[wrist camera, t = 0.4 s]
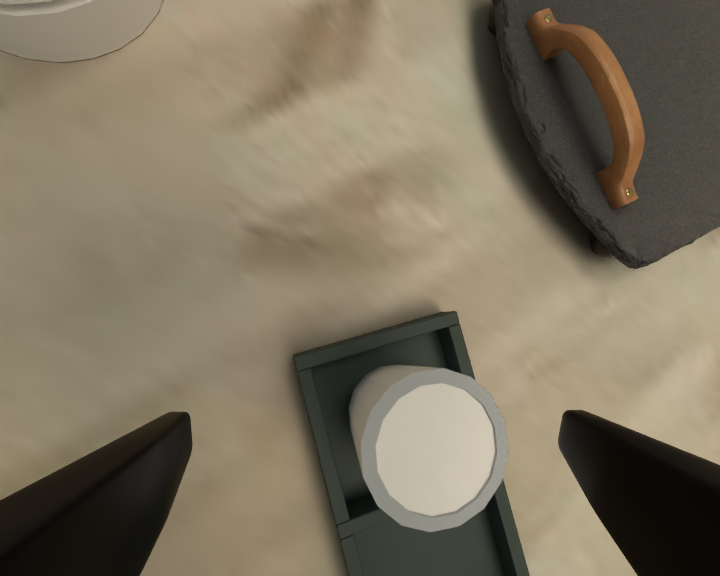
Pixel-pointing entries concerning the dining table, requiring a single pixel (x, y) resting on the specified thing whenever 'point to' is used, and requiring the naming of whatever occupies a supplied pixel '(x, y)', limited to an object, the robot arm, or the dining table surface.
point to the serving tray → (621, 113)
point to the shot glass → (428, 444)
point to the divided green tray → (344, 476)
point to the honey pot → (71, 27)
